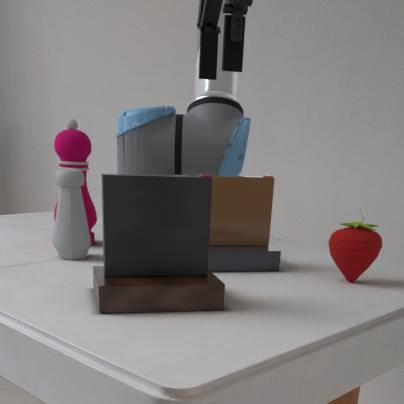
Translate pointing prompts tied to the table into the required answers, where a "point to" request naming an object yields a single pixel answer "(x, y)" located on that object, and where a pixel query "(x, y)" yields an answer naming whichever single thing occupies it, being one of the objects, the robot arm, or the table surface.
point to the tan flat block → (241, 210)
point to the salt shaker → (71, 216)
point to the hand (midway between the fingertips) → (218, 75)
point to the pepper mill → (76, 164)
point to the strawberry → (354, 248)
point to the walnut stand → (157, 293)
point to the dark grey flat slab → (156, 224)
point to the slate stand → (243, 258)
